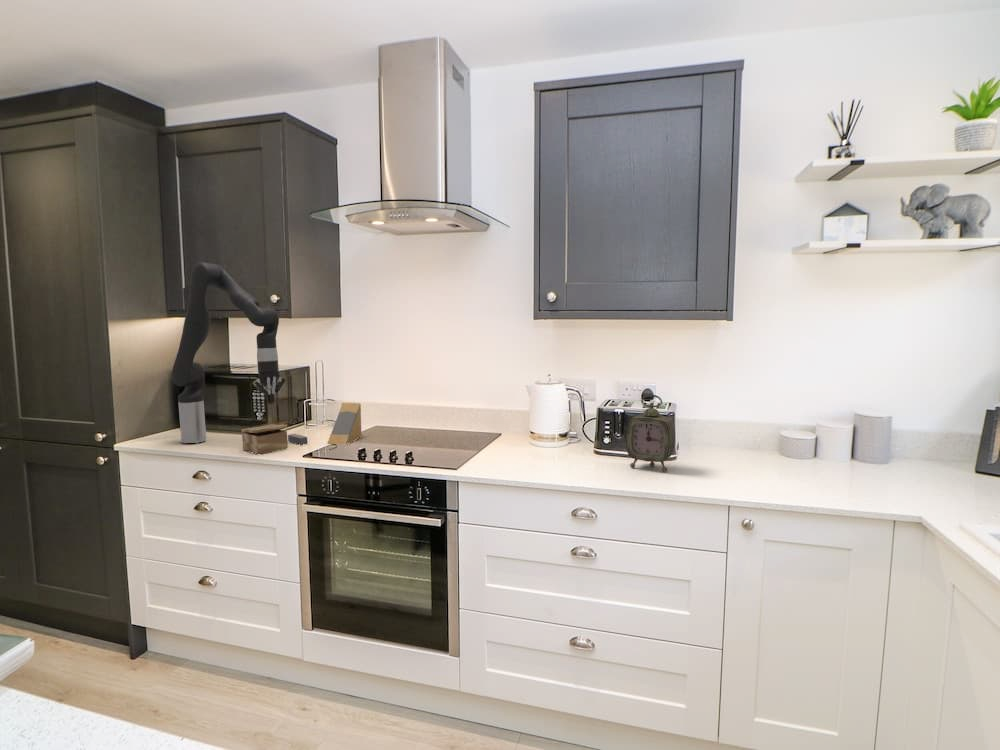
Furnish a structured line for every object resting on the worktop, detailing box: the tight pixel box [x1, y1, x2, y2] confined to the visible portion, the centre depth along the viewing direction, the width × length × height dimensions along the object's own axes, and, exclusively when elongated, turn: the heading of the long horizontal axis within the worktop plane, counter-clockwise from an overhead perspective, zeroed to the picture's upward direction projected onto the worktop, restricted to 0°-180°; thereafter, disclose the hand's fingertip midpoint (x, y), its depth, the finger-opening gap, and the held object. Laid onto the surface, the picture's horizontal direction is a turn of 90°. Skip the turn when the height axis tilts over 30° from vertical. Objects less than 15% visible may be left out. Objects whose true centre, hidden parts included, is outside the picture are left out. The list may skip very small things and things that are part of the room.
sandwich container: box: [326, 402, 362, 445], centre depth 237 cm, size 9×15×15 cm, turn 168°
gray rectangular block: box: [287, 433, 308, 446], centre depth 235 cm, size 10×3×3 cm, turn 49°
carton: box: [241, 429, 289, 455], centre depth 224 cm, size 12×12×7 cm
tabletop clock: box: [625, 394, 676, 473], centre depth 191 cm, size 14×9×25 cm, turn 59°
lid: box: [240, 423, 288, 433], centre depth 223 cm, size 12×12×1 cm
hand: (270, 403), depth 224 cm, fingers closed
